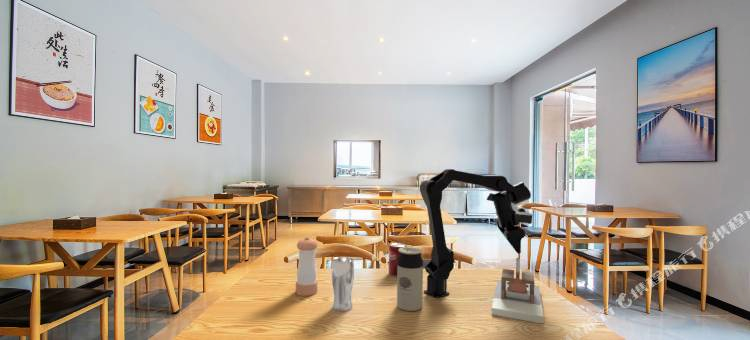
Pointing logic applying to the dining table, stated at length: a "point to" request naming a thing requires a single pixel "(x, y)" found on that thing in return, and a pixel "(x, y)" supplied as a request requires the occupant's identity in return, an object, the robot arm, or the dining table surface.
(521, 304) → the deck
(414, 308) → the travel mug
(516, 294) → the grey piece
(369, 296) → the dining table surface
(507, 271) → the tunnel
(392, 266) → the soda can
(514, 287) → the block
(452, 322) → the dining table surface
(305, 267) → the pepper shaker
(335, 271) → the beer glass
